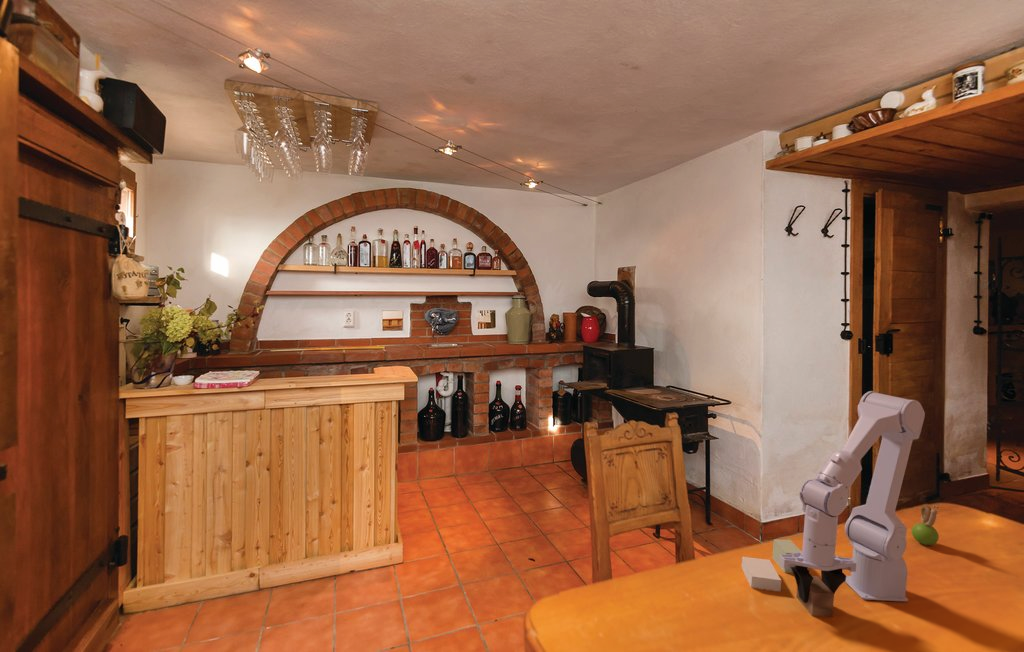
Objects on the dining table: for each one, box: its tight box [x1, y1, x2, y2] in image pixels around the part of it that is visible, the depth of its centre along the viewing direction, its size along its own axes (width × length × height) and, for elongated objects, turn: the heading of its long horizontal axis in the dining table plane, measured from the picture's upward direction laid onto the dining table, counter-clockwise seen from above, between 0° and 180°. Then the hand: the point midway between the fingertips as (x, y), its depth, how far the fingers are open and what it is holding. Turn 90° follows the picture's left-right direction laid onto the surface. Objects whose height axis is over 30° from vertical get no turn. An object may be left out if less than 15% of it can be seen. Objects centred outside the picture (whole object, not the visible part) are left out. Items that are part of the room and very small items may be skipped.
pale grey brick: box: [741, 556, 782, 593], centre depth 111 cm, size 6×8×3 cm
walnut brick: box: [796, 575, 835, 618], centre depth 101 cm, size 4×6×5 cm, turn 177°
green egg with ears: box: [911, 504, 940, 546], centre depth 127 cm, size 5×6×12 cm
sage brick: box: [772, 538, 802, 574], centre depth 116 cm, size 4×6×5 cm, turn 177°
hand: (814, 600), depth 101 cm, fingers closed on walnut brick, 4 cm apart
